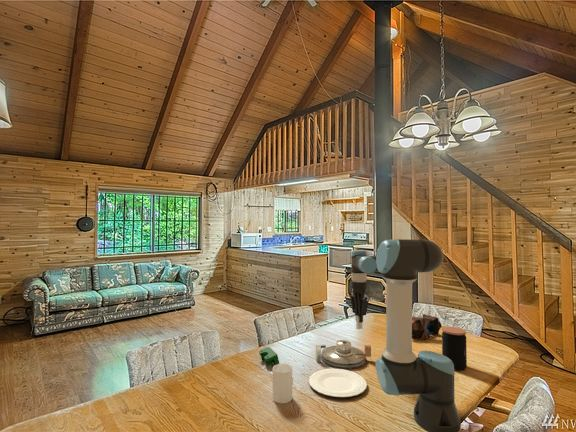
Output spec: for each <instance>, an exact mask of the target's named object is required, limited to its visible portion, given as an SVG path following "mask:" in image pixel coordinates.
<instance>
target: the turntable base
mask: <svg viewBox="0 0 576 432" xmlns="http://www.w3.org/2000/svg"><path fill="white" fill-rule="evenodd" d="M325 348H327V345H323V344H322V345H320V344H316V345H315V362H316V363H323V364H324V365H327V366H328V367H332V368H333V369H343V370H354V369H355V370H356V369H359V368H362V367H363V366H365V365H366V362H367V357H365V359H364V361H363V362H361V363H358V364H354V365H340V364H335V363H331V362H329V361H327V360H325V359H324V358H323V357H322V349H325Z"/></svg>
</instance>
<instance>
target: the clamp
mask: <svg viewBox="0 0 576 432" xmlns="http://www.w3.org/2000/svg"><path fill="white" fill-rule="evenodd" d="M258 353H259V356H260V358H261V362H264V363H265V366H267V367H268V366H269V365H271V364H273V366H275V365H277V364H280V360H279V356H278V353H277V352H275V351H274V350H273V349H272V348H271V347H270V346H266V347H264V348H262V349H260V350H259V351H258Z"/></svg>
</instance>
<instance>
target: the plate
mask: <svg viewBox="0 0 576 432" xmlns="http://www.w3.org/2000/svg"><path fill="white" fill-rule="evenodd" d="M308 383H309V386H310V387H311V388H312V389H313V390H314V391H316V392H318V393H319V394H321V395H324V396H327V397H331V398H342V399H343V398H353V397H356V396H359V395H362V394H363V393H364V392H365V391H366V390H367V387H368V384H367V381H366V380H365V378H364V377H363V376H361V375H360V374H359V373H356V372H354V371H351V370H349V369H338V368H326V369H320V370H318V371H315V372H313V374H311V375H310V376H309V378H308Z"/></svg>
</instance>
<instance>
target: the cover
mask: <svg viewBox="0 0 576 432" xmlns="http://www.w3.org/2000/svg"><path fill="white" fill-rule="evenodd" d="M335 346H336V349H335V350H334V353H335V354H336V355H338V356H341V357H350V356H352V355H353V351H352V350H351V347H352V342H351V341H349V340H346V339H339V340H337V341H336V344H335Z"/></svg>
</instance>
